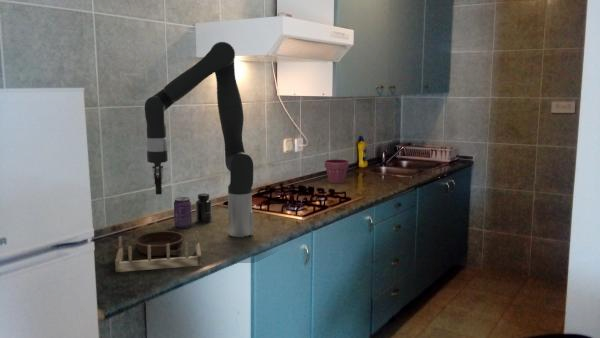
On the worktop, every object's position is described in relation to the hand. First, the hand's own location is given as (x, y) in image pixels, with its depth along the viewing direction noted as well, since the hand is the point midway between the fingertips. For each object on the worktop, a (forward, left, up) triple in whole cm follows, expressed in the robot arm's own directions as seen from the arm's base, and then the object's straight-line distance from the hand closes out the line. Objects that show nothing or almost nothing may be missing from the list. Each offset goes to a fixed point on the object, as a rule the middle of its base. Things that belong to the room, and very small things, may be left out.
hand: (158, 194), depth 203 cm
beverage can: (-9, -15, -18) cm, 25 cm away
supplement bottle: (-18, -21, -18) cm, 33 cm away
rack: (0, +25, -18) cm, 31 cm away
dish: (0, +14, -18) cm, 23 cm away
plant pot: (-100, -89, -18) cm, 135 cm away
